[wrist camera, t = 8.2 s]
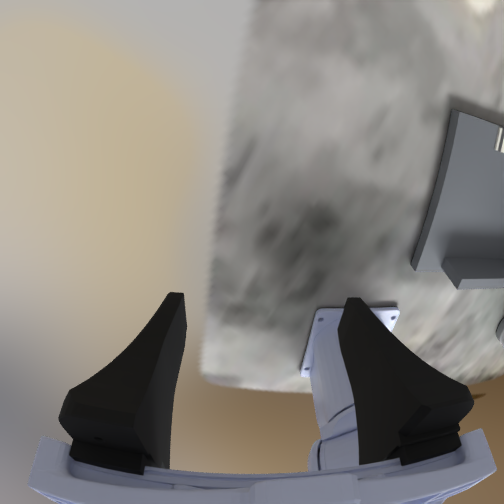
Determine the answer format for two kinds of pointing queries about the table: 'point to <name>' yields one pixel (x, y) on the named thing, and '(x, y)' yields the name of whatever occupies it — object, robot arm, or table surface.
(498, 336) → the travel mug
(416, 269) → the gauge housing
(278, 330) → the table surface
